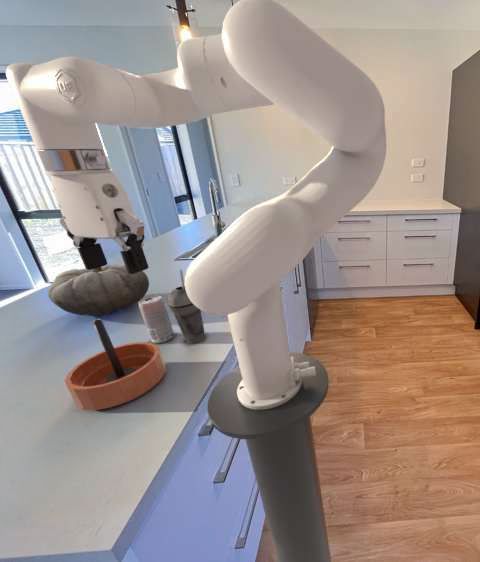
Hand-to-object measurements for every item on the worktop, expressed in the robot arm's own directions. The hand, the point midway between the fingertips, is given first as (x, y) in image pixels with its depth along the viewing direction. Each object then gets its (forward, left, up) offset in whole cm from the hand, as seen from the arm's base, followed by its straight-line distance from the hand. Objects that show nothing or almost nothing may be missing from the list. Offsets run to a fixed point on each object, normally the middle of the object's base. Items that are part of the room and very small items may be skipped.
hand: (117, 269), depth 52 cm
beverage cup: (0, -22, -28) cm, 36 cm away
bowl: (+10, -6, -28) cm, 31 cm away
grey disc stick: (+10, -6, -28) cm, 30 cm away
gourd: (+35, -52, -28) cm, 69 cm away
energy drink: (+9, -25, -28) cm, 39 cm away
